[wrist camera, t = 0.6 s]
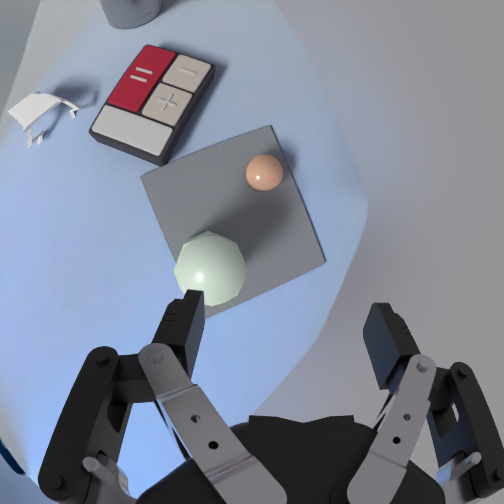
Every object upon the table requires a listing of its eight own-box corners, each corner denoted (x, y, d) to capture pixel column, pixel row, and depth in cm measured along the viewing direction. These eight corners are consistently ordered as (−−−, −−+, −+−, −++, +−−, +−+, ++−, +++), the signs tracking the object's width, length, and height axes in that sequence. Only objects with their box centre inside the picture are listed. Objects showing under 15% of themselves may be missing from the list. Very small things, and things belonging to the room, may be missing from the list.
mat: (140, 177, 34) (140, 176, 33) (269, 126, 36) (269, 125, 36) (202, 318, 37) (202, 319, 36) (324, 263, 39) (325, 263, 39)
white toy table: (21, 159, 30) (3, 152, 25) (21, 111, 29) (5, 101, 24) (87, 130, 32) (73, 119, 27) (84, 82, 31) (72, 67, 26)
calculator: (217, 62, 31) (160, 159, 30) (214, 78, 35) (164, 168, 35) (145, 40, 29) (84, 130, 28) (148, 56, 33) (95, 141, 32)
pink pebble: (238, 167, 35) (241, 161, 32) (268, 156, 36) (274, 149, 33) (251, 197, 36) (256, 194, 33) (281, 185, 37) (288, 182, 33)
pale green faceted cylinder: (174, 245, 35) (164, 253, 25) (222, 224, 36) (229, 224, 26) (195, 291, 36) (193, 316, 26) (242, 271, 37) (256, 288, 27)
